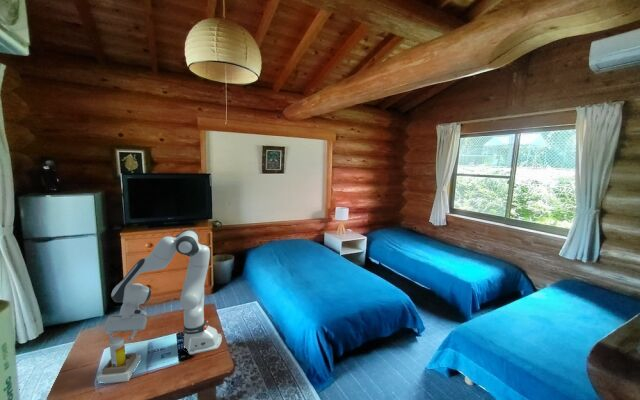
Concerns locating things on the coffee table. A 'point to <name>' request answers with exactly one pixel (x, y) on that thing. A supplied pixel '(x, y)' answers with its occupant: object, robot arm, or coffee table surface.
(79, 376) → the coffee table surface
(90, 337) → the coffee table surface
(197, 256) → the robot arm
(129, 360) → the display plinth
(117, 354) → the beer can
